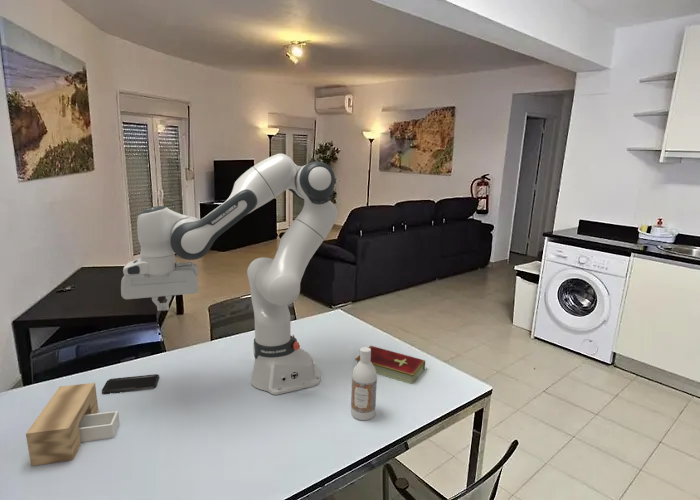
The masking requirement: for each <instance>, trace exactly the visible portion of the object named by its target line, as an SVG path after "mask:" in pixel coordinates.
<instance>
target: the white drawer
mask: <svg viewBox="0 0 700 500" xmlns="http://www.w3.org/2000/svg"><path fill="white" fill-rule="evenodd" d="M119 416H120V415H119V410H115V411H114V410H113V411H105V412H97V413H96V414H88V415H84V416H83V418H82V419H81V421H80V423H79V425H78V426H79V433H80V441H81V443H84V442H93V441H100V440H108V439H114V438H115V435H116V433H117V431H118V429H119V426H120V417H119Z"/></svg>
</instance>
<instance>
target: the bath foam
mask: <svg viewBox="0 0 700 500" xmlns="http://www.w3.org/2000/svg"><path fill="white" fill-rule="evenodd" d="M368 347H369V346H368ZM368 347H367V346H363V347H361V348H360V351H359V355H360V361H359V362H358V364H357V363H356V365H355V366H354V369H353V370H352V375H351V397H350V399H351V400H350V401H351V402H350V414H351V416H352V417H353V418H355V419H357V420H360V421H367V420H371V419H373V418H374V417H375V415H376V407H377V387H378V385H377V384H378V374H377V373H376V369H375V367H374V366H373V364H372V363H371V361H370V360H371V349H370V348H368Z"/></svg>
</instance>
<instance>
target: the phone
mask: <svg viewBox="0 0 700 500" xmlns="http://www.w3.org/2000/svg"><path fill="white" fill-rule="evenodd" d="M159 380H160V375H159V374H157V373H156V374H155V373H154V374H147V375H146V374H145V375H144V374H143V375H136V376H135V375H134V376H125V377H116V378H115V377H114V378H109V379H107V380H106V382H105V384H104V385H103V387H102V389H101V394H102V395H111V394H110V393H113V394H121V393H120V392H122V393H130V392H139V391H150V390H151V391H152V390H154V389H156V388H157V387H158V383H159Z"/></svg>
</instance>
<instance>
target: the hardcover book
mask: <svg viewBox="0 0 700 500" xmlns="http://www.w3.org/2000/svg"><path fill="white" fill-rule="evenodd" d="M368 348H370V349H371V360H370V361H371V363H372V364H373V366H374V367H375V369H376V373H377V375H381V376H384V377H388V378H390V379H394V380H397V381H401V382H403V383H407V384H411V385H412V384H413V383H414V382H415V381H416V380H417V378H418V377H419V376H420V374H421V373H422V371H423V370H425V368H426V360H425V359H421V358H419V357H414V356H411V355H407V354H402V353H400V352H396V351H392V350H388V349H384V348H382V347H377V346H374V345H369V346H368ZM354 359H355V360H356V365H357V364H358V362H359V361H360V354H359V355H358V356H356V358H354Z"/></svg>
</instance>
